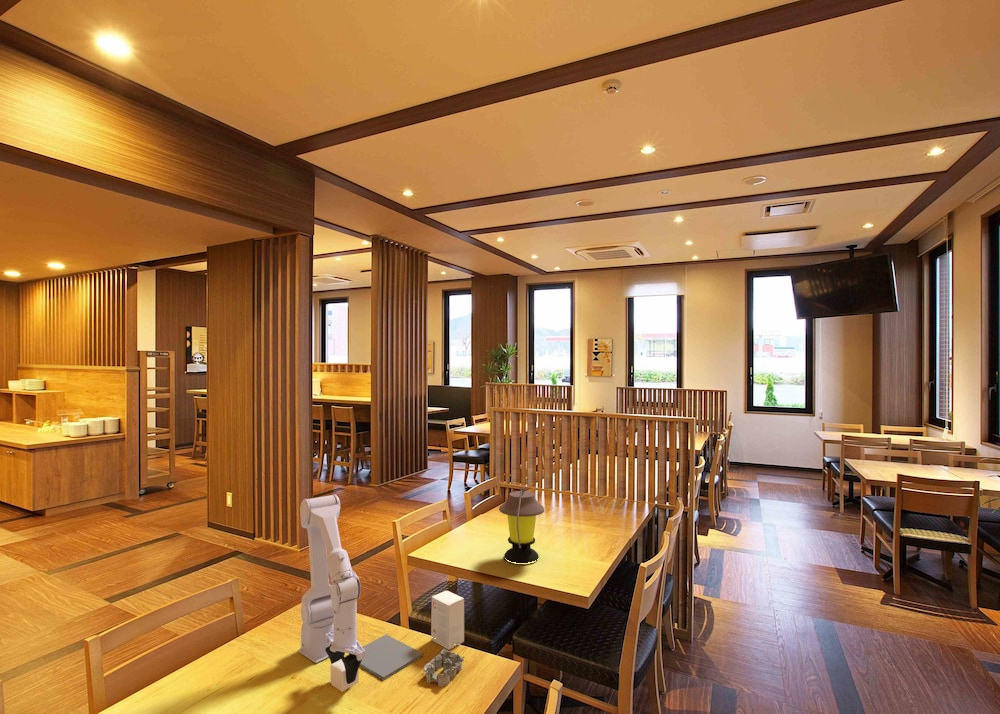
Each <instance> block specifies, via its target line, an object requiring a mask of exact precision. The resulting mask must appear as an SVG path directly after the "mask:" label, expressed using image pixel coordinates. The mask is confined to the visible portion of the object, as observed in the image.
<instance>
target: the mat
mask: <svg viewBox="0 0 1000 714" xmlns="http://www.w3.org/2000/svg"><path fill="white" fill-rule="evenodd" d="M362 648H363V649H364V650H366V653H365V658H364V659H362V661H361V663H360V665H359V667H360V668H362V669H364V670H366V671H367V672H369V673H371V674H372V675H374V676H376V677H378V678H379V679H380V680H383V681H385V680H387V679H388V678H390V677H392V676H393V675H395V674H397V673H398V672H400V671H401V670H403V669H405V668H407V667H408V666H410V665H411V664H413V663H414V662H416V661H417V660H419V659H421V658H422V657H424V653H423V652H422V651H419V650H417V649H415V648H414V647H412V646H410V645H408V644H406V643H404V642H401V641H400V640H397V639H396V638H394V637H392V636H390V635H388V634H384V635H382V636H380V637H378V638H376V639H375V640H373V641H371V642H369V643H368V644H364V645H363V646H362ZM348 655H349V653H347V655H346V656H348Z"/></svg>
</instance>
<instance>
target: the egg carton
mask: <svg viewBox="0 0 1000 714" xmlns="http://www.w3.org/2000/svg"><path fill="white" fill-rule="evenodd" d="M464 659H465V657H464V656H460V655H459V653H455V652H453V651H451V650H450V651H449V650H448V649H446V648H442V650H441V651H440V652H439V653H438V654H437V655H435V656H433V658H432V659H431V660H430V661H429V662H428V663H426V664H425V665H424V667H423V673H424V674H425V679H426V682H427V683H429V684H431V683H434V682H435V683H437V686H439V687H441V686H442V687H444V686H449V684H450V681H451V680H450V679H454V677H455V678H456V675H457V672H461V671H462V670H463V663H464V661H465V660H464ZM442 664H443V666H442ZM442 667H443V673H439V674H437V673H435V670H440V669H441V668H442Z"/></svg>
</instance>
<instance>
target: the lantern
mask: <svg viewBox="0 0 1000 714" xmlns="http://www.w3.org/2000/svg"><path fill="white" fill-rule="evenodd" d="M526 489H527V488H526V485H525V484H523V487H522V489H520V490H515V491H511V492H510V493H509V494H508V497H507V500H505V501H504V502H503V503H502V504H501V505H500V506H499V508H498V510H499V512H500V513H501V514H504V515H505V516H506V515H507V522H508V523H507V525H508V531H509V537H508V538H507V542H508V543H509V544H511V545H512V546H511V547H510V548H509V549H507V550H506V551H505V553H504V556H503V558H504V557H505V558H506V559H507V560H509V561H511V562H516V563H528V562H532V561H535V560H537V559H538V558H540V556H539V553H538V552H537V551H536V550H535V549H534V548H531V545H533V544H535V543H536V539H535V537H534V535H535V528H536V527H535V526H536V520H537V516H538V515H541V514H543V513H544V512H545V508H544V506H543V505H542V504H541V503H540V502H539V501H538V500H537V499H536V495H535V493H534V492H532V491H527V490H526Z"/></svg>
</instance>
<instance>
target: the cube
mask: <svg viewBox="0 0 1000 714" xmlns="http://www.w3.org/2000/svg"><path fill="white" fill-rule="evenodd" d="M359 669H360V667H359V668H358V671H357V675H356V679H355V681H354V682H352V683H350V684H348V683H347V681H346V671H345V666H344V663H343V661H342V659H340V660H339V661H337V662H335V663H333V664H330V685H331V686H333V687H334V688H336V689H337V690H338V691H340V692H344V691H346V690H348V689H350V688H351V687H353V686H355V685H356V684H359V681H360V680H359V677H360V675H359V674H360V670H359Z"/></svg>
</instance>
